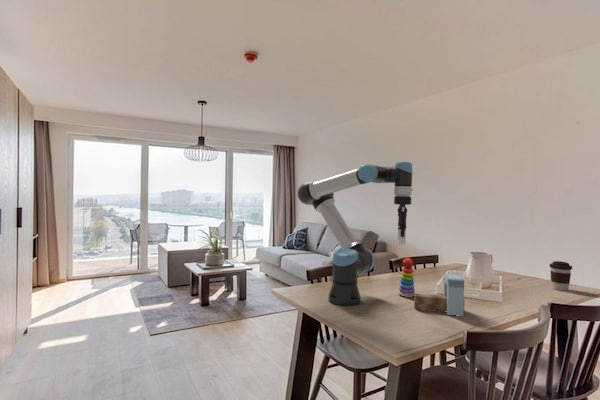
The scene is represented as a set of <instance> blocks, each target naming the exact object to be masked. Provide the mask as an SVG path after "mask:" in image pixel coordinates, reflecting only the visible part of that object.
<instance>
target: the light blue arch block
mask: <svg viewBox="0 0 600 400" xmlns="http://www.w3.org/2000/svg"><path fill="white" fill-rule="evenodd" d="M442 290H443V291H442V293H443V295H442V296H447V312H446V315H447V314H448V315H459V316H463V317H464V314H463V308H464V309H465V302H464V300H465V299H464V298H465V280H464V279H463V278H462V277H461V275H459V274H458V273H457V274H456V273H455V274H454V273H443V289H442ZM448 315H447V316H448Z"/></svg>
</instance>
